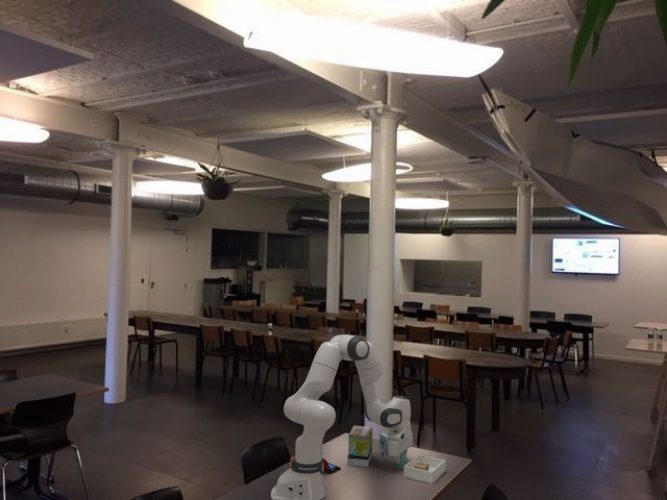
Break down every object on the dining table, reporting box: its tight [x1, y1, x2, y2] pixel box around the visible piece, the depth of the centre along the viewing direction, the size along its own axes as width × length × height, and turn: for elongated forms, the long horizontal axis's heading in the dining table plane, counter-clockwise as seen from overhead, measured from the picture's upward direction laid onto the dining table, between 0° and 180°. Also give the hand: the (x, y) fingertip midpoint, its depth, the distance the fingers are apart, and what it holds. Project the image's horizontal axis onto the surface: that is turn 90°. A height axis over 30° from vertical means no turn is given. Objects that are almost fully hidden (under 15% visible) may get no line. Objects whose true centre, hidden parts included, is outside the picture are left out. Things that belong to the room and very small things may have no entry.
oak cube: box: [414, 462, 429, 471], centre depth 232 cm, size 5×5×5 cm
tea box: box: [347, 425, 374, 468], centre depth 251 cm, size 15×10×15 cm, turn 168°
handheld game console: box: [323, 458, 342, 474], centre depth 241 cm, size 12×11×7 cm
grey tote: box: [403, 454, 447, 485], centre depth 235 cm, size 17×13×5 cm
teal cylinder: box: [395, 451, 408, 470], centre depth 243 cm, size 5×5×7 cm
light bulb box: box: [379, 431, 396, 462], centre depth 256 cm, size 11×7×11 cm, turn 25°
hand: (401, 460), depth 243 cm, fingers closed on teal cylinder, 5 cm apart
